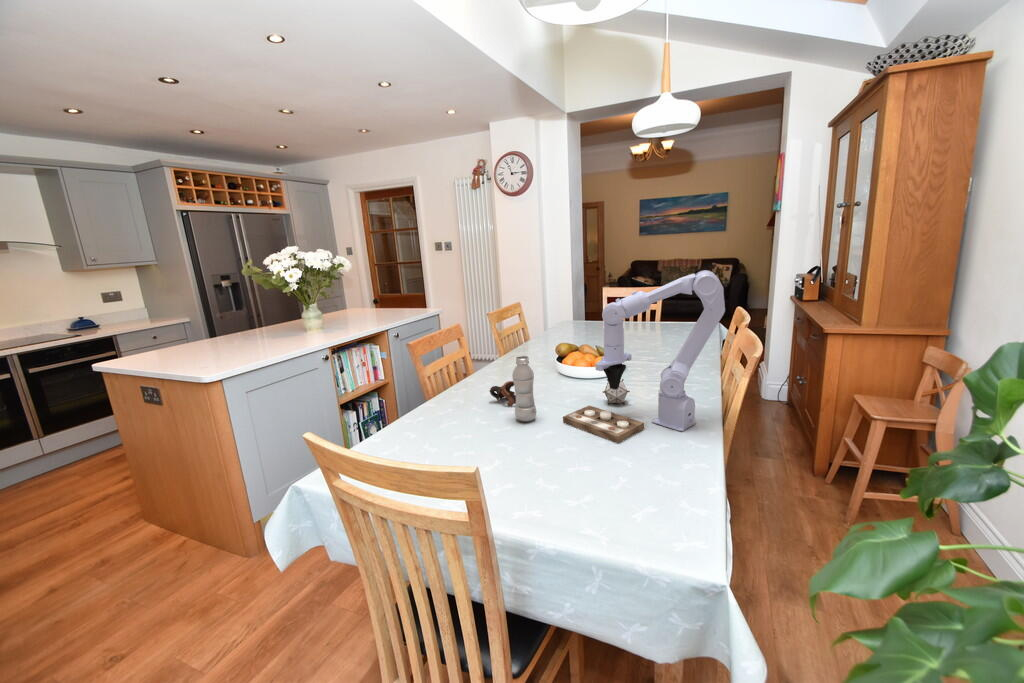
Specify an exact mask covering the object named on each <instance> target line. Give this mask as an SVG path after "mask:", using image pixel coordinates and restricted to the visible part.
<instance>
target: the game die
mask: <svg viewBox="0 0 1024 683" xmlns="http://www.w3.org/2000/svg"><path fill="white" fill-rule="evenodd" d="M606 381H607V382H606V386H605V389H604V391H602V394H604V395H605V397H606V399H607V400H608V403H607V405H608V406H610V404H617V403H618V404H619V403H620V404H621V403H622V404H623V405H624V404H625V402H624V401H625V399H626V398H627V394H628V393H630V392H631V391H630V390H628V389H627V387H626V385H625V383H624V378H621V380H620V384H619V388H618V389H616V390H615V389H611V388H610V385H609V382H608V379H607V378H606Z"/></svg>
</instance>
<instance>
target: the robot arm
mask: <svg viewBox="0 0 1024 683" xmlns="http://www.w3.org/2000/svg"><path fill="white" fill-rule="evenodd" d="M693 291H694V293H695V294H696V296H697V297H698V298H699V299H700V300H701V303H702V307H703V311H702V312H701V314H700V316H699V318H697V321H696V323H695V324H694V326H693V328H692V329H691V331H690V333H689V335H688V336H687V338H686V340H685V342H684V343H682V346H681V348H680V349H679V351H678V353H677V354H676V356H675V358H674V359H672V361H671V362H670V365H669V366H666V367H665V368H664V369H663V370H662V372H661V373H660V383H659V389H658V394H657V395H658V397H657V398H658V400H657V401H658V406H657V407H658V408H657V414H658V415H657V417H656V418H655V419H653V420H651V423H653V424H656V425H659V426H662V427H665V428H669V429H673V430H675V431H678V432H684V431H685V430H687V429H688V428H690V427H691V426H693V425H695V424H696V423H697V422H696V421H695V420H696V419H695V418H696V417H695V416H696V401H695V399H694V398H693V397H691V396H688V395H687V394H686V390H685V382H686V380H687V378H688V376H689V374H690V371H691V368H692V367H693V365H694V364H695V361H696V360H697V358H698V356H700V354H701V352H702V350H703V349H704V347H705V345H706V344H707V341H709V339H710V337H711V335H713V332H714V331H715V329H716V327H717V326H718V324H719V322H720V321H721V319H722V318H723V316H724V315H725V312H726V307H725V305H726V304H725V295H724V286H723V285H722V283H721V281H720V279H719V277H718V276H717V275H716V274H715V272H712V271H711V270H707V269H705V270H700V271H698V272H696V273H690V274H688V275H685V276H682V277H680V278H678V279H675V280H673V281H670V282H668V283H667V284H664V285H662V286H660V287H658V288H656V289H653V290H651V291H649V292H646V291H642V290H639V291H637V290H634V291H632V292H631V294H630V295H628V296H625V297H623V298H621V299H620V298H616V299H615V302H614V301H613V302H610V303H608V304H607V305H606V306H605V307H604V308H603V310H602V313H601V317H602V320H603V356H601V360H600V361H598V362H597V363H595V371H599V372H604V374H605V376H606V380H607V379H608V381H607V383H608V382H609V385H610V388H611V389H615V390H616V389H618V388H619V384H620V381H622V377H623V374H624V372H625V371H626V369H627V365H626V364H623V363H625V362H629V361H632V353H628V352H626V353H625V333H624V332H625V329H624V320H623V319H630V318H632V317H634V316H637V315H640V314H642V313H644V312H647V311H649V310H650V309H651V306H652V304H654V303H657V302H660V301H663V300H664V299H667V298H670V297H673V296H676V295H678V294H683V295H684V294H686V295H690V296H691V295H693Z"/></svg>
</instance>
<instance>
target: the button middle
mask: <svg viewBox="0 0 1024 683" xmlns="http://www.w3.org/2000/svg"><path fill="white" fill-rule="evenodd" d="M611 412H612V411H609V412H608V410H606V411H602V412H600V420H602V421H605V422H608V421H610V420H611Z"/></svg>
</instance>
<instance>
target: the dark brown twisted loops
mask: <svg viewBox="0 0 1024 683" xmlns="http://www.w3.org/2000/svg"><path fill="white" fill-rule="evenodd" d="M512 387H515V386H514V382H513V380H509V381H507V382H504V384H503V385H501V386H498V385H493V386H491V387H490V388H489V392H490V393H489V394H490V395H491V396H492V397H493V398H495V399H496V401H501V400H502V399H504V398H505V399H507V402H506V404H507V406H508V407H510V406H511V407H512V406H514V405H516V394H515V391H512V390H511V389H512Z"/></svg>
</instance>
